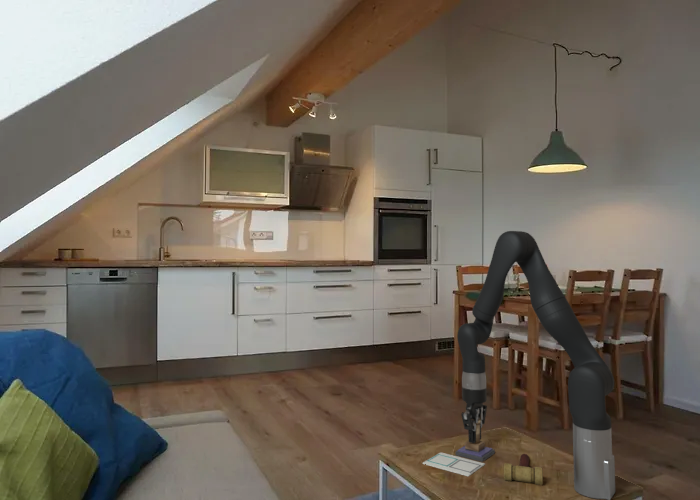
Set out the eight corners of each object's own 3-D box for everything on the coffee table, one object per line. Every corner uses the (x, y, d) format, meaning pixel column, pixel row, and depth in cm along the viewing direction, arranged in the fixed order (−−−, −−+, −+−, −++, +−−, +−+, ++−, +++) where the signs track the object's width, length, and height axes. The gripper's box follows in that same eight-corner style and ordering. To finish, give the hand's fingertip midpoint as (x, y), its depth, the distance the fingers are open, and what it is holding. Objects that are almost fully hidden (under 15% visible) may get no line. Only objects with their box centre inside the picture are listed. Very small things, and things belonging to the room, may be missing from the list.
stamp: (484, 448, 160) (484, 419, 160) (478, 452, 156) (478, 422, 156) (471, 445, 162) (471, 416, 163) (465, 449, 159) (464, 420, 159)
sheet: (485, 464, 151) (484, 463, 151) (468, 476, 142) (468, 475, 142) (440, 453, 160) (440, 452, 160) (422, 463, 152) (422, 462, 152)
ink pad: (494, 453, 160) (494, 448, 160) (482, 461, 153) (482, 456, 153) (468, 447, 166) (468, 442, 166) (455, 455, 159) (455, 449, 159)
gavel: (508, 445, 159) (542, 449, 155) (508, 460, 158) (542, 464, 155) (503, 465, 139) (542, 470, 136) (504, 482, 139) (542, 488, 135)
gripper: (475, 391, 152) (476, 449, 152) (494, 383, 163) (495, 437, 162) (452, 388, 157) (453, 444, 156) (473, 380, 168) (473, 432, 167)
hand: (474, 440), depth 159 cm, fingers closed on stamp, 3 cm apart
